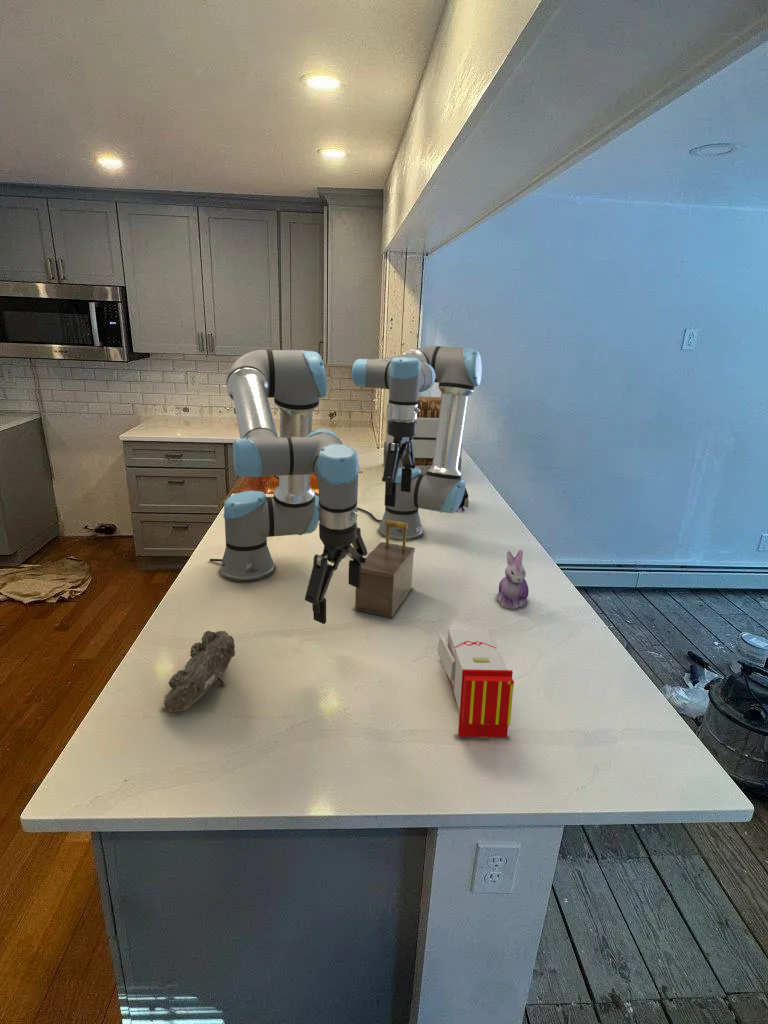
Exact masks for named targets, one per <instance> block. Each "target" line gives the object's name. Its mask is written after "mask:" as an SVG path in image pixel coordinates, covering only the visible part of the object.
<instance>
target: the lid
mask: <svg viewBox="0 0 768 1024" xmlns="http://www.w3.org/2000/svg"><path fill="white" fill-rule="evenodd" d="M385 525H386V527H387V528H386V537H385V542H384V541H380V542H379V543H378V544H377V546H375V547H374V548H373V550H371V552H369V554H367V555H366V556H365V558H366V562H365V563H361V573H366V574H371V575H376V576H382V577H387V578H392V579H394V578H395V576H396V575H397V574H398V572H399V571H400V570H401V569H402V567H403V566H404V565H405V563H406V562H407V561H408V560H409V558H410V557H411V556H412V554H413V553H414V554H415V551H416V548H415V547H414V546H413V547H412V546H407V540H406V530H407V528H408V523H406V522H400V521H394V520H386V523H385ZM390 527H392V528H398V529H403V540H402V545H401V544H395V543H390V538H389V529H390Z"/></svg>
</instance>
